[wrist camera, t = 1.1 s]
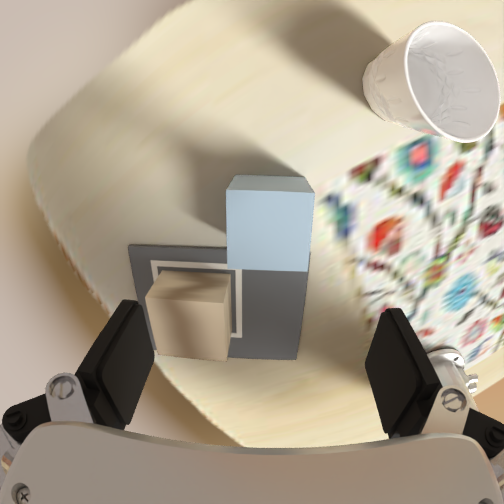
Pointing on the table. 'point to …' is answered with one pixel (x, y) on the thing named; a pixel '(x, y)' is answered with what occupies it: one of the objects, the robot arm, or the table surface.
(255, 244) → the blue block
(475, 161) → the table surface
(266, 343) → the mat
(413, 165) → the table surface
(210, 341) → the base block
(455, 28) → the white cup
